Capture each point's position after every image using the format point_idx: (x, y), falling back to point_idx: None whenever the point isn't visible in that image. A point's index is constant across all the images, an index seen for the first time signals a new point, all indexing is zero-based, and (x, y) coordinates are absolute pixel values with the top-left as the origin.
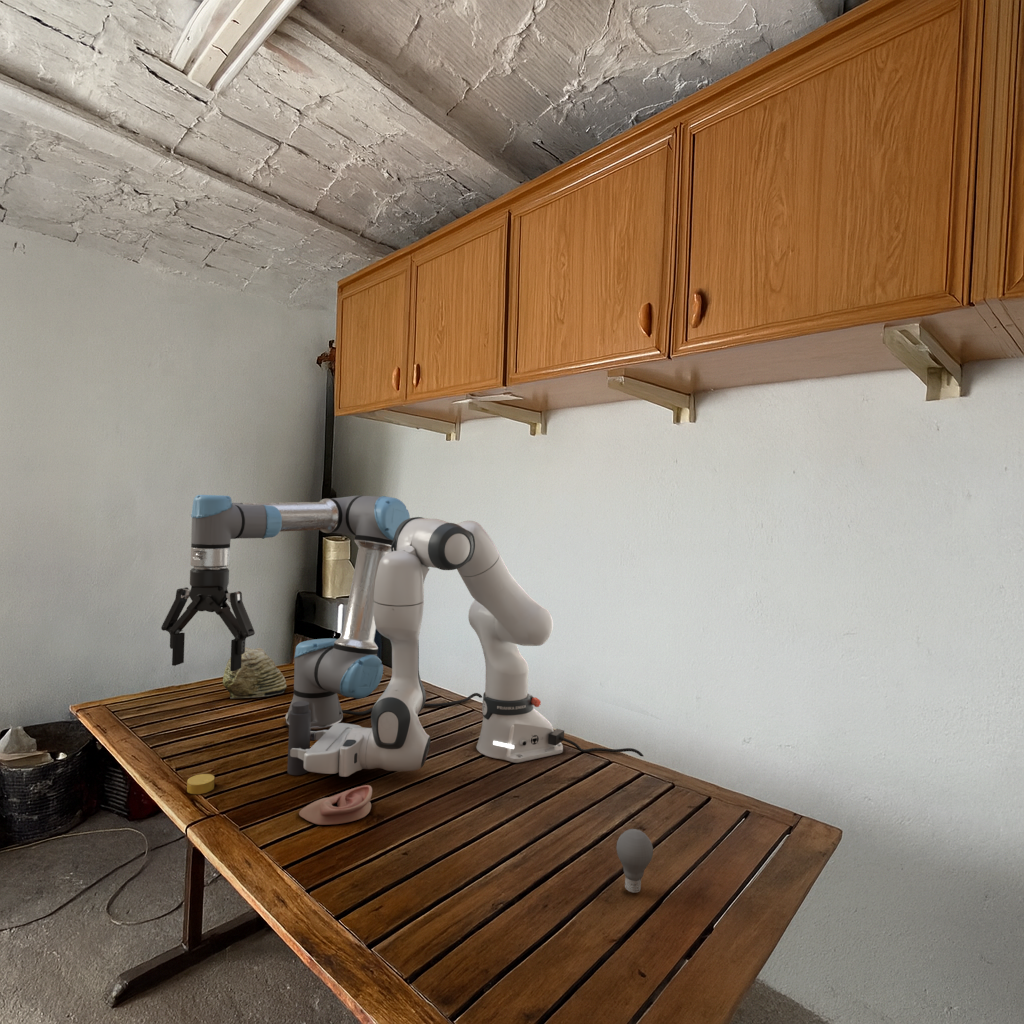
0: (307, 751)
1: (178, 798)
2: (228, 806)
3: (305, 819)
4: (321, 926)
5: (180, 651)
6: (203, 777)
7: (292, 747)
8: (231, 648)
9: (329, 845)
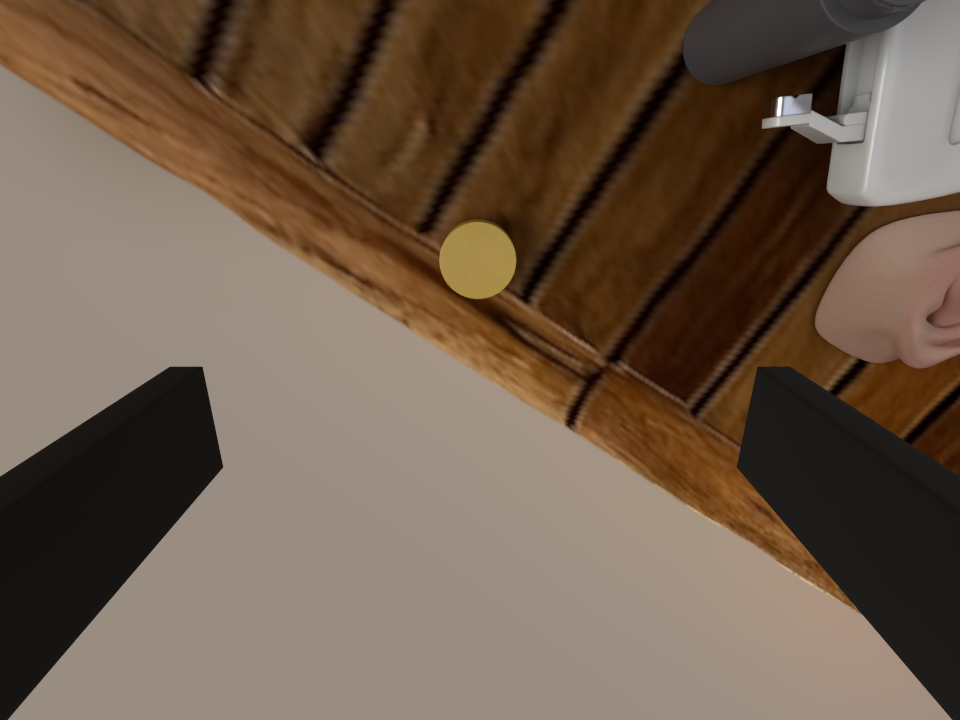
0: (873, 172)
1: (457, 321)
2: (610, 327)
3: (840, 349)
4: None
5: (141, 473)
6: (478, 249)
7: (757, 67)
8: (878, 626)
9: (917, 426)
